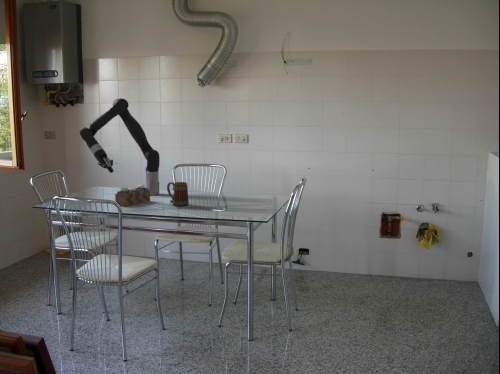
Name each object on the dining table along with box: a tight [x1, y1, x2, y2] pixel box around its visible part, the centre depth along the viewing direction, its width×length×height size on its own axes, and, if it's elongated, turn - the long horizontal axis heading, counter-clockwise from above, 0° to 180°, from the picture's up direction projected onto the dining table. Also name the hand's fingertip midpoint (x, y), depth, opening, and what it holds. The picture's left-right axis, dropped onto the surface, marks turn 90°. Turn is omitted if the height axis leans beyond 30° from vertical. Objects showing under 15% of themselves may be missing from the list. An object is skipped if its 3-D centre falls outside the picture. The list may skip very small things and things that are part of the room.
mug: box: [166, 181, 190, 208], centre depth 330 cm, size 16×11×15 cm
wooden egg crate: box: [114, 187, 151, 208], centre depth 333 cm, size 24×8×9 cm, turn 150°
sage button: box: [120, 187, 129, 192], centre depth 325 cm, size 5×5×2 cm
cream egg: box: [137, 184, 146, 189], centre depth 339 cm, size 5×5×2 cm
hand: (112, 171), depth 329 cm, fingers closed
